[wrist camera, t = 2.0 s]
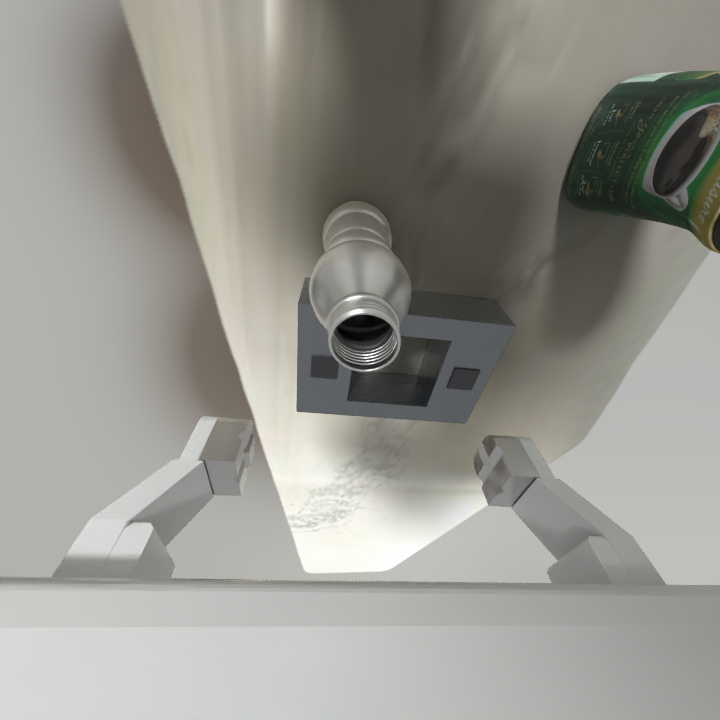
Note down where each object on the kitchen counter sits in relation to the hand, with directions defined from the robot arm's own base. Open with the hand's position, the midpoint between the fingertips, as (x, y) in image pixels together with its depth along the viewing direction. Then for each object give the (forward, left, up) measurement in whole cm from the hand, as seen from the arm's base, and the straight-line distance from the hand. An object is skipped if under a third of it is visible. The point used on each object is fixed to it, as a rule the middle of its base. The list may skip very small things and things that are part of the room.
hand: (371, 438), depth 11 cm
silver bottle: (0, 0, -26) cm, 26 cm away
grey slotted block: (+13, +6, -26) cm, 29 cm away
